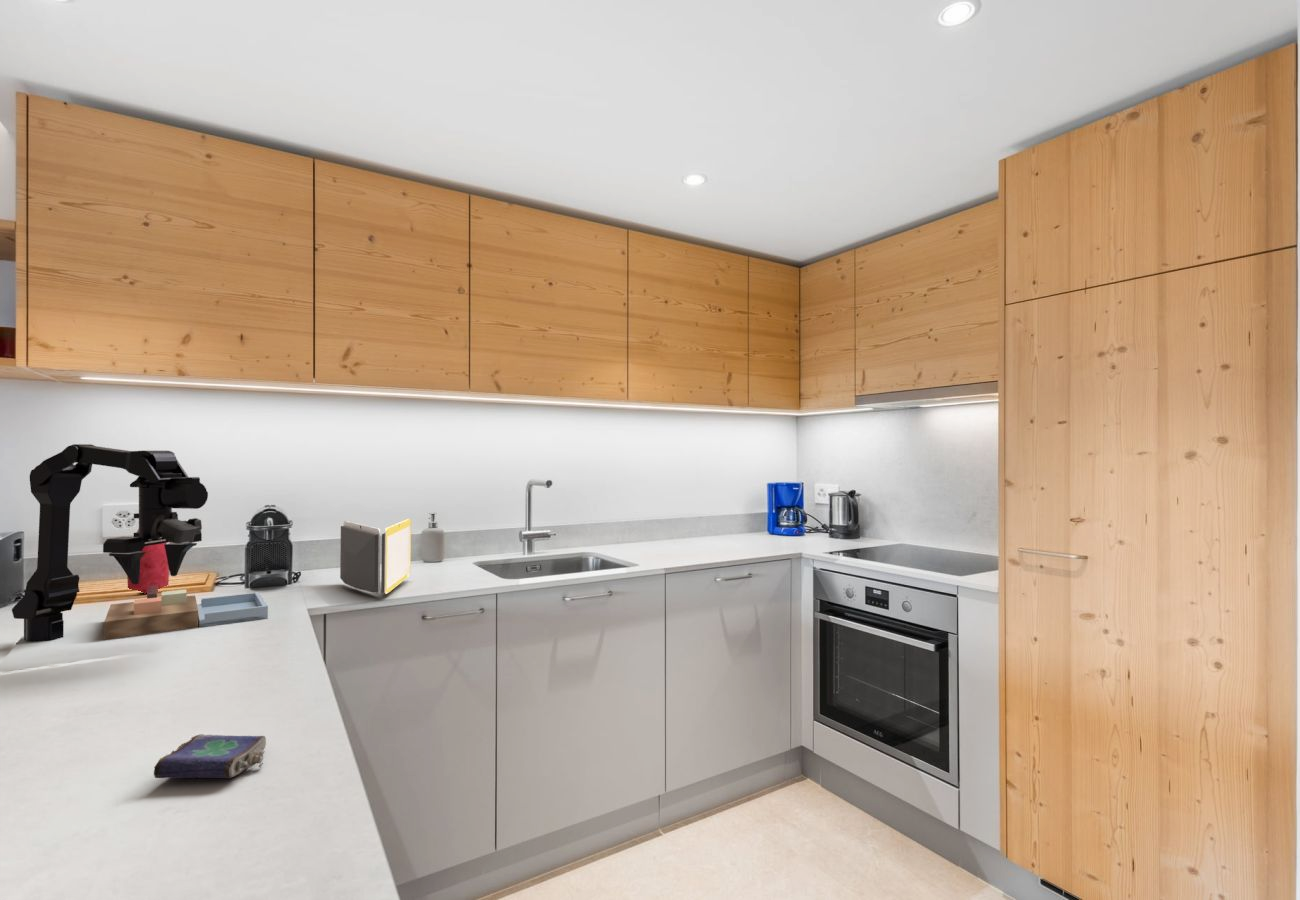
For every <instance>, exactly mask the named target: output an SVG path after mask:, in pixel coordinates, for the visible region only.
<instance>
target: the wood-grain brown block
mask: <svg viewBox="0 0 1300 900" xmlns="http://www.w3.org/2000/svg"><path fill="white" fill-rule="evenodd" d="M134 602H135V601H131V602H129V601H128V602H122V603H121V602H120V603H112V604H110V605H109V607H108V608H109V609H108V611H107V613H106V617H105V619H104V622H103V624H104V628H103V629H104V630H103V631H104V632H103V633H104V634H103V637H104V638H103V639H104V641H105V640H113V639H120V638H121V639H122V638H130V637H136V636H145V635H151V634H159V633H166V632H175V631H181V630H187V629H195V628H196V629H198V628H199V621H198V607H197V605H198V604H197V598H196V595H187V603H181V604H173V605H164V606H161V612H153V613H144V614H136V615H134Z"/></svg>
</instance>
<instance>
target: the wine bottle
mask: <svg viewBox="0 0 1300 900" xmlns="http://www.w3.org/2000/svg"><path fill="white" fill-rule="evenodd" d="M136 532H139V528H138V529H137V530H136ZM164 544H168V543H162V544H155V545H149V546H145V547H144V548H143V550H142V551H140V552H146V553H145V554H144V555H143V557H142V558H141V560H140V578H139V584H137V585H134V584H132V582H131V581H130V579H129V578H128V576H127V575H126V576H127V577H126V578H127V589H128V588H129V589H132V590H138V591H141V592H143V593H144V594H143V595H147V594H146V593H147V592H148V586H150V585H158V589H160V588H162V587H164V586H167V585H168V586H169V581H170V571H169V567H168V561H167V556H166V551H165V546H164Z"/></svg>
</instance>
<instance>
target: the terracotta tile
mask: <svg viewBox="0 0 1300 900" xmlns="http://www.w3.org/2000/svg"><path fill="white" fill-rule="evenodd" d="M133 602H134V615H136V614H144V613H153V612H161V596H159V597H157V598H147V597H146V598H141V599H140V598H139V599H134V601H133Z"/></svg>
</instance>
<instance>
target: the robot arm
mask: <svg viewBox="0 0 1300 900" xmlns="http://www.w3.org/2000/svg"><path fill="white" fill-rule="evenodd" d="M74 463H75V464H74ZM93 465H98V466H105V467H110V468H111V467H112V468H118V469H123V470H125V471H126V472H127V473H128V474H131V475H133V476H136V477H137V478H136V479H135V480H134V481H132V482H131V483H130V484H129V487H130V488H138V513H133V519H138V529H139V532H137V531H136V532H133V536H119V537H113V538H107V539H105V541H104V542H103V544H102V552H103V554H107V553H108V555H109V557H114V559H115V561H116V562H117V563H118V564H119V565H120V567H121V569H122V570H123V571H124V574H126V576H128V578H129V579H130V581H131V582H132V584H134V585H137V584H139V578H140V560H141V558H142V557H143V555H144V554H145V553H146V552H140V551H142V550H143V548H144V547H145V546H149V545H155V544H162V543H167V544H164V546H165V551H166V556H167V561H168V567H169V575H170V576H171V577H176V576H177V575H178V574H179V570H180V568H181V565H182V563H183V560H184V558H185V556H186V554H187V552H188V551H189V550H190V549H192V548H193V547H194V546H195V547H196V545H197V544H198V543H199V542H203V541H202V539H203V537H202V527H203V526H202V520H201V519H200V518H197V517H195V518H189V519H188V520H181V519H179V516H178V515H179V513H177V511H173V509H184V510H185V509H191V510H195V509H196V510H197V509H200V508H202V507H204V505H206V503H207V501H208V496H209V492H208V490H207V488H206V486H205V485H204V484H203V483H201V478H200V476H192V477H191V476H190V477H189V476H188V474H187V472H186V471H185V470H184V468H183V467H182V465H181V464H180V462H179V460H178V459H177V457H176V455H175V453H174V452H173V451H170V450H133V451H132V450H125V449H118V448H117V449H116V448H110V447H103V446H97V445H94V444H89V443H88V444H85V443H84V444H81V443H79V444H77V443H76V444H71V445H68V446H67V447H65V448H64V449H63V450H61V452H58V453H57V454H54V455H52V456H50V457H48V458H45V459H44V460H43V461H42V462H41V463H40V464H38V465H36V466H35V467H34V468H33V469H31V471H30V473H29V485H30V492H31V494H32V496H33V497H34V498H35V499H36V500H37V502H38V503H39V520H38V521H39V522H38V538H37V539H38V543H37V561H36V563H37V565H36V569H35V571H34V572H33V573H32V575H31V576H30V578H29V579H28V580H27V581H26V585H25V591H24V595H23V596H22V597H21V599H19V601H18V602H17V603H16V604H15V605H14V606H13V607H12V609H11V612H12V616H13V619H16V620H17V619H18V620H23V640H24V641H26V642H27V643H36V642H38V643H39V642H48V641H50V642H51V641H54V640H55V641H56V640H59V639H62V638H64V629H65V628H64V624H65V623H64V618H63V615H64V614H63V612H66V611H71V610H72V609H73V606H74V604H75V603H74V602H75V600H76V599H77V596H78V593H80V588H79V582H80V576H79V574H73V572H72V570H70V569H69V568H68V567H69V566H68V563H69V561H68V559H69V543H70V542H69V538H70V517H71V504H72V503H73V501H74V500H75V498H76V497H77V496H78V494H79V493H80V492H81V486H82V482H83V479H85V478H87V476H88V475H90V473H91V472H92V469H93ZM197 542H198V543H197ZM15 644H16V645H17V644H18V642H16V643H15Z"/></svg>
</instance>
